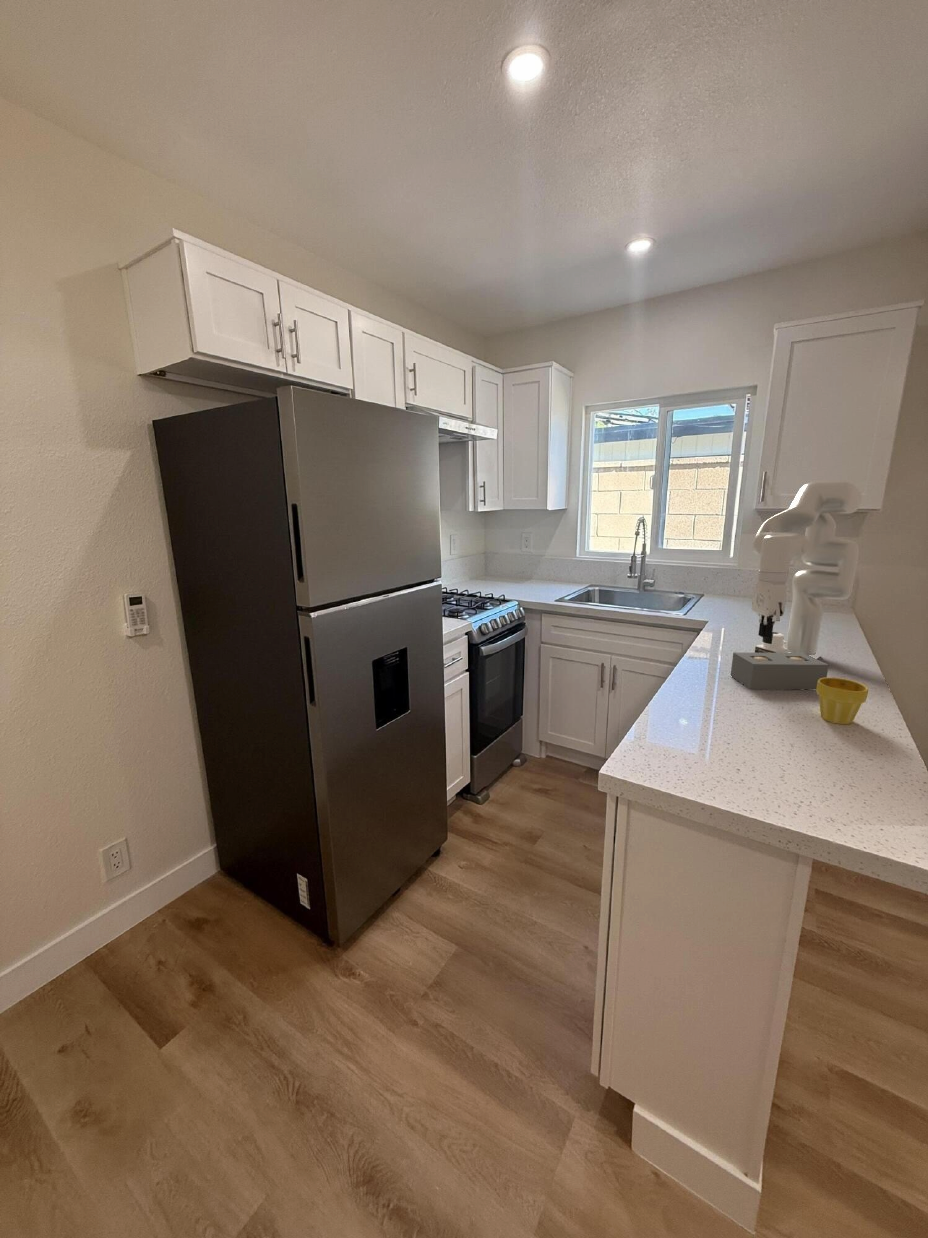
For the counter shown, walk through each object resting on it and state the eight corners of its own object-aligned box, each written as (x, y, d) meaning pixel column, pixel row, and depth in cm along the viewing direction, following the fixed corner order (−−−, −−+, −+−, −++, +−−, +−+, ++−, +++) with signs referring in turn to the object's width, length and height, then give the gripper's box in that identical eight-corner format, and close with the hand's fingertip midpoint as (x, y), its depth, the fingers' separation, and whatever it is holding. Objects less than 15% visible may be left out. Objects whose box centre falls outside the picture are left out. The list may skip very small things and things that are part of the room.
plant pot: (837, 729, 123) (844, 692, 120) (802, 713, 132) (808, 678, 130) (872, 726, 125) (879, 689, 122) (834, 709, 134) (840, 675, 132)
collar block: (730, 676, 161) (733, 652, 159) (799, 676, 160) (803, 653, 159) (750, 689, 149) (753, 664, 147) (824, 690, 149) (828, 664, 147)
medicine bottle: (752, 665, 172) (757, 631, 169) (765, 662, 175) (770, 629, 172) (772, 671, 166) (777, 636, 163) (786, 668, 169) (791, 634, 166)
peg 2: (783, 678, 156) (786, 657, 155) (796, 678, 156) (799, 657, 155) (791, 682, 153) (794, 661, 151) (804, 682, 152) (808, 661, 151)
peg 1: (748, 677, 157) (751, 656, 155) (761, 678, 157) (763, 656, 155) (755, 682, 153) (757, 660, 151) (768, 682, 153) (771, 660, 151)
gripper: (746, 573, 155) (740, 629, 159) (774, 581, 140) (766, 643, 145) (771, 572, 155) (763, 629, 159) (801, 581, 140) (792, 643, 145)
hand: (765, 636), depth 152 cm, fingers closed
